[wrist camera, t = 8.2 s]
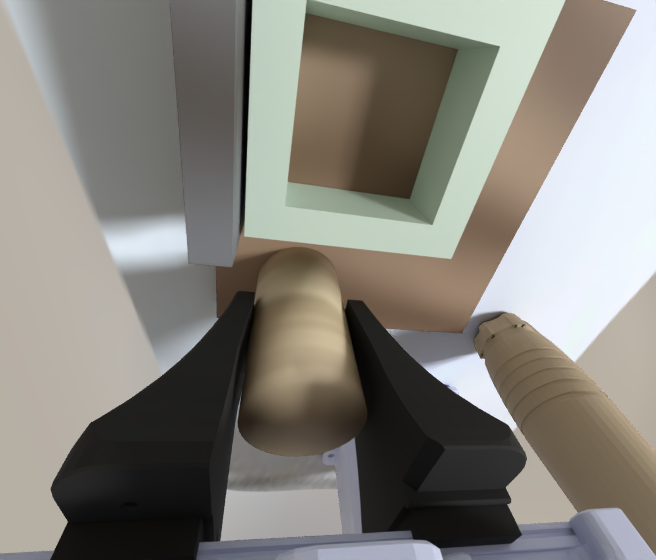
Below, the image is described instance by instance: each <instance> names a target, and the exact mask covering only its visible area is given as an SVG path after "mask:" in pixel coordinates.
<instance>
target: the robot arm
mask: <svg viewBox="0 0 656 560" xmlns="http://www.w3.org/2000/svg"><path fill="white" fill-rule="evenodd" d="M254 301H255V292H248V291H238V292H236V293H235V295H234V297H233V299H232V300H231V302H230V304H229V305H228V307H227V308H226V309H225V311H224V312H223V314H222V315H221V316H220V318H219V319H218V320H217V322H216V323H215V324H214V325H213V327H212V328H211V329H210V330H209V331H208V332H207V333H206V335H205V336H204V337H203V338H202V339H201V340H200V341H199V342H198V343H197V344H196V345H195V347H194V348H193V349H192V350H191V351H189V352H188V353H187V354H186V355H185V356H184V357H183V358H182V359H181V360H180V361H179V362H178V363H176V364H175V365H174V366H173V367H172V368H170V369H169V370H168V371H167V372H166V373H165V374H163V375H162V376H161V377H160V378H158V379H157V380H156V381H154V382H153V383H151V384H150V385H149V386H147V387H146V388H145V389H143V390H142V391H140V392H139V393H138V394H136V395H135V396H134V397H132V398H131V399H129V400H127V401H126V402H124V403H123V404H121V405H119V406H118V407H116V408H115V409H113V410H111V411H110V412H108V413H107V414H105V415H103V416H102V417H100V418H98V419H96V420H95V421H93V422H91V423H90V424H89V426H88V427H87V428H86V430H85V431H84V432H83V434H82V435H81V437H80V438H79V439H78V441H77V442H76V443H75V445H74V446H73V448H72V449H71V451H70V453H69V454H68V456H67V458H66V460H65V461H64V463H63V465H62V467H61V469H60V471H59V472H58V474H57V476H56V478H55V479H54V481H53V484H52V487H51V492H52V496H53V498H54V500H55V502H56V503H57V505H58V506H59V508H60V510H61V511H62V513H63V514H64V516H65V518H66V519H67V521H68V523H67V525H66V527H65V529H64V532H63V534H62V536H61V538H60V540H59V542H58V544H57V546H56V548H55V550H54V551H39V552H22V553H3V554H0V560H656V556H655V554H654V553H653V552H652V550H651V549H650V548H649V546H648V545H647V544H646V542H645V541H644V540H643V538H642V537H641V536H640V534H639V533H638V532H637V530H636V529H635V528H634V526H633V525H632V523H631V522H630V521H629V519H628V518H627V517H626V515H625V514H624V513H623V511H622V510H621V509H619V508H602V509H588V510H584V511H581V512H579V513H577V514H576V515H574V516H573V517H572V518H571V519H570V520H569V522H554V523H537V524H520V525H517V523H516V521H515V519H514V517H513V515H512V513H511V511H510V509H509V507H508V505H507V504H510V503H511V498H510V496H509V494H508V492H507V490H506V488H505V487H506V486H507V485H508V484H509V483H510V482H511V481H512V480H513V479H514V478H515V477H516V476H517V475H518V474H519V473H520V472H521V471H522V469H523V468H524V467H525V464H526V460H527V457H526V454H525V452H524V450H523V448H522V447H521V445H520V443H519V442H518V440H517V439H516V437H515V435H514V434H513V432H512V430H511V429H510V427H509V426H508V425H507V424H505V423H504V422H502V421H500V420H498V419H497V418H495V417H493V416H491V415H490V414H488V413H486V412H484V411H483V410H481V409H479V408H478V407H476V406H474V405H473V404H471V403H470V402H468V401H467V400H465V399H464V398H462V397H461V396H459V392H458V390H457V389H456V388H455V387H447V386H445V385H444V384H443V383H441V382H440V381H439V380H438V379H436V378H435V377H434V376H432V375H431V374H430V373H429V372H428V371H426V370H425V369H424V368H423V367H422V366H421V365H420V364H419V363H417V362H416V361H415V360H414V359H413V358H412V357H411V356H410V355H409V354H408V353H407V352H406V351H405V350H404V349H403V348H402V347H401V346H400V345H399V344H398V343H397V342H396V341H395V339H394V338H393V337H392V336H391V335H390V334H389V333H388V332H387V330H386V329H385V328H384V327H383V326H382V324H381V323H380V322H379V321H378V319H377V318H376V317H375V316H374V315H373V313H372V312H371V311H370V309H369V308H368V307H367V306H366V304H365V303H364V302H363V301H362V300H349V299H348V300H347V304H346V308H345V314H346V318H347V323H348V327H349V332H350V336H351V341H352V345H353V349H354V354H355V358H356V363H357V367H358V372H359V376H360V381H361V385H362V389H363V394H364V398H365V403H366V407H367V420H366V423H365V425H364V427H363V429H362V430H361V431H360V433H359V434H358V435H357V436H356V437H354V438H353V439H352V440H351V441H349V442H348V443H346V444H344V445H342V446H340V447H338V448H336V449H334V450H331V451H328V452H324V453H323V457H322V463H323V464H324V465H326V466H335V471H336V480H337V489H338V497H339V506H340V515H341V524H342V532H343V534H342V535H324V536H305V537H287V538H270V539H253V540H235V541H220V538H221V530H222V522H223V514H224V506H225V497H226V490H227V482H228V474H229V466H230V458H231V451H232V443H233V436H234V428H235V421H236V415H237V409H238V405H239V400H240V396H241V392H242V387H243V380H244V373H245V366H246V359H247V352H248V345H249V338H250V331H251V325H252V319H253V311H254Z"/></svg>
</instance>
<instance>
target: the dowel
mask: <svg viewBox="0 0 656 560" xmlns="http://www.w3.org/2000/svg"><path fill="white" fill-rule="evenodd" d="M366 420H367V407H366V403H365V398H364V394H363V389H362V385H361V381H360V376H359V372H358V367H357V363H356V358H355V354H354V349H353V345H352V341H351V336H350V332H349V327H348V323H347V318H346V314H345V309H344V305H343V301H342V296H341V292H340V287H339V283H338V278H337V274H336V270H335V268H334V266H333V264H332V262H331V261H330V260H329V259H328V258H327V257H326V256H325V255H323V254H322V253H320V252H319V251H316V250H314V249H311V248H306V247H290V248H285V249H282V250H280V251H277V252H276V253H274V254H272V255H271V256H270V257H268V258H267V260H266V261H265V262H264V263H263V265H262V266H261V268H260V271H259V274H258V281H257V288H256V296H255V303H254V311H253V319H252V325H251V331H250V338H249V345H248V352H247V359H246V366H245V373H244V380H243V388H242V395H241V402H240V409H239V416H238V428H239V432H240V433H241V435H242V437H243V438H244V439H245V440H246V441H247V442H248V443H249V444H251V445H252V446H254V447H255V448H257V449H259V450H262V451H264V452H267V453H271V454H275V455H281V456H309V455H315V454H320V453H324V452H328V451H331V450H334V449H336V448H338V447H340V446H342V445H344V444H346V443H348V442H349V441H351V440H352V439H353V438H354V437H356V436H357V435H358V434H359V433H360V431H361V430H362V429H363V427H364V425H365V423H366Z"/></svg>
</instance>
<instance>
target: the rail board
mask: <svg viewBox="0 0 656 560" xmlns="http://www.w3.org/2000/svg"><path fill="white" fill-rule="evenodd" d="M252 5H253V0H170V10H171V24H172V38H173V52H174V66H175V80H176V94H177V108H178V122H179V136H180V150H181V163H182V177H183V191H184V205H185V219H186V233H187V247H188V261H189V263H192V264H203V265H213V266H216V293H217V318H220V316H221V315H222V314H223V312H224V311H225V309H226V308H227V307H228V305H229V304H230V302H231V300H232V299H233V297H234V295H235V293H236V292H238V291H248V292H255V296H256V288H257V281H258V274H259V271H260V268H261V266H262V265H263V263H264V262H265V261H266V260H267V258H268V257H270V256H271V255H272V254H274V253H276V252H277V251H280V250H282V249H285V248H290V247H306V248H311V249H314V250H316V251H319V252H320V253H322V254H323V255H325V256H326V257H327V258H328V259H329V260H330V261H331V262H332V264H333V266H334V268H335V270H336V274H337V278H338V283H339V287H340V292H341V296H342V301H343V305H344V309H345V308H346V304H347V300H348V299H349V300H362V301H363V302H364V303H365V304H366V306H367V307H368V308H369V309H370V311H371V312H372V313H373V315H374V316H375V317H376V318H377V319H378V321H379V322H380V323H381V324H382V326H383V327H384V328H386V329H402V330H418V331H433V332H449V333H462V332H463V330H464V328H465V326H466V325H467V323H468V321H469V319H470V317H471V315H472V313H473V312H474V310H475V308H476V306H477V304H478V302H479V301H480V299H481V297H482V295H483V293H484V291H485V289H486V288H487V286H488V284H489V282H490V280H491V278H492V277H493V275H494V273H495V271H496V269H497V267H498V265H499V264H500V262H501V260H502V258H503V256H504V254H505V253H506V251H507V249H508V247H509V245H510V243H511V241H512V240H513V238H514V236H515V234H516V232H517V230H518V228H519V227H520V225H521V223H522V221H523V219H524V217H525V216H526V214H527V212H528V210H529V208H530V206H531V204H532V203H533V201H534V199H535V197H536V195H537V193H538V192H539V190H540V188H541V186H542V184H543V182H544V180H545V179H546V177H547V175H548V173H549V171H550V169H551V167H552V166H553V164H554V162H555V160H556V158H557V156H558V155H559V153H560V151H561V149H562V147H563V145H564V143H565V142H566V140H567V138H568V136H569V134H570V132H571V131H572V129H573V127H574V125H575V123H576V121H577V119H578V118H579V116H580V114H581V112H582V110H583V108H584V107H585V105H586V103H587V101H588V99H589V97H590V95H591V94H592V92H593V90H594V88H595V86H596V84H597V82H598V81H599V79H600V77H601V75H602V73H603V71H604V70H605V68H606V66H607V64H608V62H609V60H610V58H611V57H612V55H613V53H614V51H615V49H616V47H617V46H618V44H619V42H620V40H621V38H622V36H623V34H624V33H625V31H626V29H627V27H628V25H629V23H630V21H631V20H632V18H633V16H634V14H635V12H636V10H634V9H631V8H628V7H624V6H621V5H617V4H614V3H611V2H607V1H604V0H565V3H564V5H563V7H562V9H561V12H560V14H559V16H558V18H557V21H556V23H555V25H554V28H553V30H552V32H551V34H550V37H549V39H548V41H547V43H546V46H545V48H544V50H543V52H542V55H541V57H540V59H539V61H538V64H537V66H536V68H535V71H534V73H533V75H532V77H531V80H530V82H529V84H528V86H527V89H526V91H525V93H524V95H523V98H522V100H521V102H520V104H519V107H518V109H517V111H516V114H515V116H514V118H513V120H512V123H511V125H510V127H509V129H508V132H507V134H506V136H505V138H504V141H503V143H502V145H501V147H500V150H499V152H498V154H497V157H496V159H495V161H494V163H493V166H492V168H491V170H490V172H489V175H488V177H487V179H486V181H485V184H484V186H483V188H482V190H481V193H480V195H479V197H478V200H477V202H476V204H475V206H474V209H473V211H472V213H471V215H470V218H469V220H468V222H467V224H466V227H465V229H464V231H463V233H462V236H461V238H460V240H459V243H458V245H457V247H456V249H455V252H454V254H453V256H452V258H451V259H447V258H437V257H428V256H419V255H410V254H401V253H391V252H382V251H373V250H364V249H355V248H346V247H336V246H327V245H318V244H309V243H300V242H291V241H281V240H272V239H263V238H254V237H245V236H244V229H245V201H246V173H247V145H248V117H249V89H250V61H251V33H252ZM457 51H458V49H454V48H450V47H446V46H442V45H438V44H433V43H429V42H425V41H421V40H417V39H413V38H408V37H404V36H400V35H396V34H392V33H387V32H383V31H379V30H375V29H371V28H366V27H362V26H358V25H354V24H350V23H346V22H341V21H337V20H333V19H329V18H325V17H320V16H316V15H312V14H308V13H305V21H304V31H303V40H302V50H301V59H300V69H299V78H298V87H297V97H296V106H295V116H294V125H293V135H292V144H291V154H290V163H289V172H288V182H292V183H299V184H306V185H313V186H320V187H327V188H334V189H341V190H348V191H355V192H362V193H369V194H376V195H384V196H391V197H398V198H405V199H410V197H411V194H412V191H413V187H414V184H415V181H416V178H417V175H418V172H419V169H420V166H421V163H422V160H423V157H424V153H425V150H426V147H427V144H428V141H429V138H430V135H431V132H432V129H433V126H434V122H435V119H436V116H437V113H438V110H439V107H440V104H441V101H442V98H443V95H444V92H445V88H446V85H447V82H448V79H449V76H450V73H451V70H452V67H453V64H454V61H455V57H456V54H457ZM254 303H255V301H254Z"/></svg>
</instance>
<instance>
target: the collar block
mask: <svg viewBox="0 0 656 560" xmlns="http://www.w3.org/2000/svg"><path fill="white" fill-rule="evenodd" d="M564 3H565V0H253V5H252V33H251V61H250V89H249V117H248V145H247V173H246V201H245V229H244V236H245V237H254V238H263V239H272V240H281V241H291V242H300V243H309V244H318V245H327V246H336V247H346V248H355V249H364V250H373V251H382V252H391V253H401V254H410V255H419V256H428V257H437V258H447V259H451V258H452V256H453V254H454V252H455V249H456V247H457V245H458V243H459V240H460V238H461V236H462V233H463V231H464V229H465V227H466V224H467V222H468V220H469V218H470V215H471V213H472V211H473V209H474V206H475V204H476V202H477V200H478V197H479V195H480V193H481V190H482V188H483V186H484V184H485V181H486V179H487V177H488V175H489V172H490V170H491V168H492V166H493V163H494V161H495V159H496V157H497V154H498V152H499V150H500V147H501V145H502V143H503V141H504V138H505V136H506V134H507V132H508V129H509V127H510V125H511V123H512V120H513V118H514V116H515V114H516V111H517V109H518V107H519V104H520V102H521V100H522V98H523V95H524V93H525V91H526V89H527V86H528V84H529V82H530V80H531V77H532V75H533V73H534V71H535V68H536V66H537V64H538V61H539V59H540V57H541V55H542V52H543V50H544V48H545V46H546V43H547V41H548V39H549V37H550V34H551V32H552V30H553V28H554V25H555V23H556V21H557V18H558V16H559V14H560V12H561V9H562V7H563V5H564ZM305 13H308V14H312V15H316V16H320V17H325V18H329V19H333V20H337V21H341V22H346V23H350V24H354V25H358V26H362V27H366V28H371V29H375V30H379V31H383V32H387V33H392V34H396V35H400V36H404V37H408V38H413V39H417V40H421V41H425V42H429V43H433V44H438V45H442V46H446V47H450V48H454V49H458V51H457V54H456V57H455V61H454V64H453V67H452V70H451V73H450V76H449V79H448V82H447V85H446V88H445V92H444V95H443V98H442V101H441V104H440V107H439V110H438V113H437V116H436V119H435V122H434V126H433V129H432V132H431V135H430V138H429V141H428V144H427V147H426V150H425V153H424V157H423V160H422V163H421V166H420V169H419V172H418V175H417V178H416V181H415V184H414V187H413V191H412V194H411V197H410V199H405V198H398V197H391V196H384V195H376V194H369V193H362V192H355V191H348V190H341V189H334V188H327V187H320V186H313V185H306V184H299V183H292V182H288V172H289V163H290V154H291V144H292V135H293V125H294V116H295V106H296V97H297V87H298V78H299V69H300V59H301V50H302V40H303V31H304V21H305Z"/></svg>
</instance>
